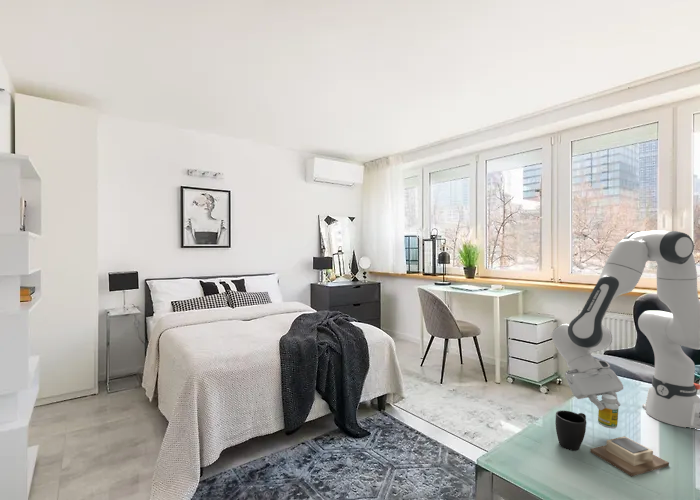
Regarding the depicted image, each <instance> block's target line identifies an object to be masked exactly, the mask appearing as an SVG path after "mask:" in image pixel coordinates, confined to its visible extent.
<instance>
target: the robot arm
mask: <svg viewBox="0 0 700 500" xmlns="http://www.w3.org/2000/svg"><path fill="white" fill-rule="evenodd" d="M694 249H695V243H694V241H693V239H692V238H691V236H690V235H689V234H687V233H685V232H681V231H677V230H671V231H670V230H658V229H656V230H646V231H645V230H644V231H642V230H637V231H632V232H629V233H628V234H627V235H626V236H624V238H623V239H622V240H620V241H618V242H617V243H616V245H615V246H614V247H613V249H612V250H611V252H610V254H609V255H608V258H607V260H606V262H605V264H604V266H603V268H602V271H601V273H600V276H599V278H598V280H597V282H596V284H595V286H594V287H593V289H592V291H591V293H590V294H589V297H588V299H587V300H586V303H585V305H584V306H583V308H582V310H581V312H580V313H579V314H578V315H577V316H575V317H574V318H573V319H572V320H571V321H570V322H569V323H563V324H560V325H557V327H555V328H554V329H553V331H552V332H551V334H550V335H551V339H552V342H553V344H554V346H555V348H556V349H557V351H558V353H559V355H561V357H562V358H563V360H565V362H566V366H567V368H568V369H569V370H566V371H565V373H564V377H565V378H566V382H567V384H568V386H569V389H570V391H571V393H572V394H573V396H574V397H575V399H577V400H581V399H582V400H583V399H587V398H588V399H589V401H590V402H591V403H592V404H594V405H595V406H596V407H597V409H598V411H599V410H604V409H606V406H605V405H604V403H601V402H600V401H601V400H599V399H598V396H602V395H603V394H608V395H612V396H614V397H616V398H617V402H616V404H617V405H618V407H619V408H620V406H621V403H620V402H619V399H618V395H617V393H619V392H621V391H623V390H624V384H623V382H622V381H621V380H620V378H619V377H618V375H617V374H616V372H615V371H614V370H613V369H611V365H610V364H609V362H608V361H606V360H602V359H598V358H595V357H594V356H593V355H592V353H596V352H599V351H603V350H605V349H607V348H609V347H610V345H611V344H612V343H613V335H612V332H611V330H610V329H608V327H606V326H604V325H603V320H604V317H605V316H606V314H607V312H608V310H609V308H610V307H611V305H612V302H613V301H614V300H615V298H617V297H619V296H621V295H625V294H628V293H630V292H632V291H634V289H635V287H636V286H637V285H638V283H639V281H640V279H641V277H642V275H643V273H644V270H645V267H646V264H647V262H656V264H657V265H656V295H657V298H658V300H660V302H662V303H663V304H664V305H666V306H667V308H668V309H669V310H670V312H669V311H665V310H664V311H663V310H644V311H643V312H642V313H641V314H640V315H639V317H638V320H637V325H638V328H639V330H640V332H641V333H642V334H643V335H644V336H646V339H647V340H648V341H649V343H650V345H651V347H652V350H653V354H654V373H653V374H654V375H653V376H652V379H651V387H649V388H648V390H647V396H646V402H645V403H642V406H641V407H642V408H643V409H644V410H645V413H646V414H647V415H649V416H650V417H652V418H653V419H655V420H657V421H660V422H663V423H665V424H668V425H673V426H675V427H676V426H677V427H680V428H686V427H690V428H689V429H691V428H696V429H700V397H699V396H698V394H697V391H700V384H699V383H695V375H696V365H695V362H694V361H693V360H692V359H691V357H689V356H688V355H687V354H686V353H685V352H684V350H683V348H682V347H685V348H688V349H693V350H700V299H699V291H698V276H697V275H698V274H697V265H696V261H695V257H694Z"/></svg>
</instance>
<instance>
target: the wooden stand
mask: <svg viewBox="0 0 700 500" xmlns="http://www.w3.org/2000/svg"><path fill="white" fill-rule="evenodd" d="M589 451H590V453H591V454H593V455H595V456H596V457H598V458H600V459H601V460H602V461H604V462H607V463H608V464H610V465H612V466H614V467H615V468H617V469H618V470H620V471H621V472H623V473H625V474H627V475H628V476H630V477H635V476H638V475H643V474H646V473H650V472H652V471H656V470H660V469H662V468H666V467H669V466H670V462H668V461H667V460H665V459H663V458H661V457H659V456H657V455H656V454H654V450H653V449H651V448H649V447H646V446H645V445H643V444H640V443H639V442H637V441H635V440H633V439H631V438H630V437H627V436H625V435H624V436H620V437H615V438H611V439H606V444H604V445H600V446H596V447H592V448H590V450H589Z"/></svg>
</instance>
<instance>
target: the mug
mask: <svg viewBox="0 0 700 500" xmlns="http://www.w3.org/2000/svg"><path fill="white" fill-rule="evenodd" d="M554 422H555V433H556V436H557V440H558V444H559V446H560V447H561V448H562V449H565V450H568V451H571V452H577V451H579V450H580V448H581V445H582V444H583V441H584V439H585V435H586V431H587V415H586V414H585V413H583V412H580V413H576V412H574V411H570V410H558V411H556V412H555V421H554Z"/></svg>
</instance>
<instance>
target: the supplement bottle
mask: <svg viewBox="0 0 700 500" xmlns="http://www.w3.org/2000/svg"><path fill="white" fill-rule="evenodd" d="M617 399H618V397H617V398H616V397H614V396H612V395H608V394H603V395H601V399H600V400H599V401H600V402H601V403H604V405H605V406H606V409H604V410H599V409H598V413H597V416H598V417H597V422H598V423H599V425H601V426H602V427H603V428H607V429H617V428H618V422H619V420H618V419H619V408H620V406H619V407H618V405H617V404H616V402H617Z"/></svg>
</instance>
